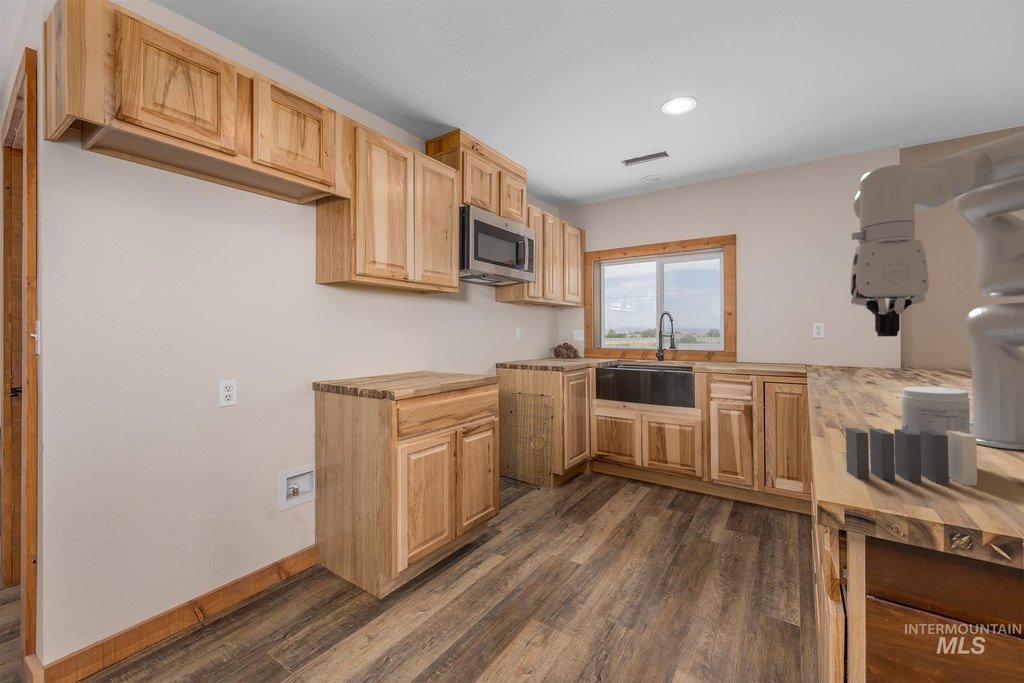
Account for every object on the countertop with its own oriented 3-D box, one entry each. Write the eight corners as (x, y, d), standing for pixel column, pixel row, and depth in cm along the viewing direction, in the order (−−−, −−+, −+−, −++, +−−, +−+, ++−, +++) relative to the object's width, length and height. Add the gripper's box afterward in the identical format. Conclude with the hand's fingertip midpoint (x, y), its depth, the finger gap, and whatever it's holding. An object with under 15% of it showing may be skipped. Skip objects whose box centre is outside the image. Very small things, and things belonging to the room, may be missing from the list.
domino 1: (846, 471, 81) (845, 427, 81) (857, 471, 80) (856, 428, 80) (857, 478, 77) (856, 432, 77) (869, 479, 76) (868, 433, 76)
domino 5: (946, 476, 76) (945, 430, 76) (959, 477, 76) (958, 430, 75) (963, 484, 72) (962, 436, 72) (977, 485, 72) (976, 436, 71)
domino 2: (870, 472, 79) (869, 428, 79) (882, 473, 79) (881, 428, 79) (882, 480, 75) (881, 433, 75) (895, 480, 75) (893, 433, 75)
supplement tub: (897, 454, 90) (896, 385, 90) (960, 459, 85) (958, 387, 85) (909, 466, 82) (907, 391, 82) (979, 473, 77) (977, 393, 77)
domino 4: (920, 475, 77) (919, 429, 77) (933, 476, 77) (931, 430, 77) (935, 483, 73) (934, 435, 73) (948, 483, 73) (947, 435, 73)
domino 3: (895, 474, 78) (894, 429, 78) (907, 474, 78) (906, 429, 78) (908, 481, 74) (907, 434, 74) (921, 482, 74) (920, 434, 74)
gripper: (848, 235, 76) (849, 336, 76) (952, 228, 72) (952, 335, 72) (829, 244, 83) (830, 337, 83) (923, 238, 79) (924, 336, 79)
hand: (887, 336), depth 77 cm, fingers closed
